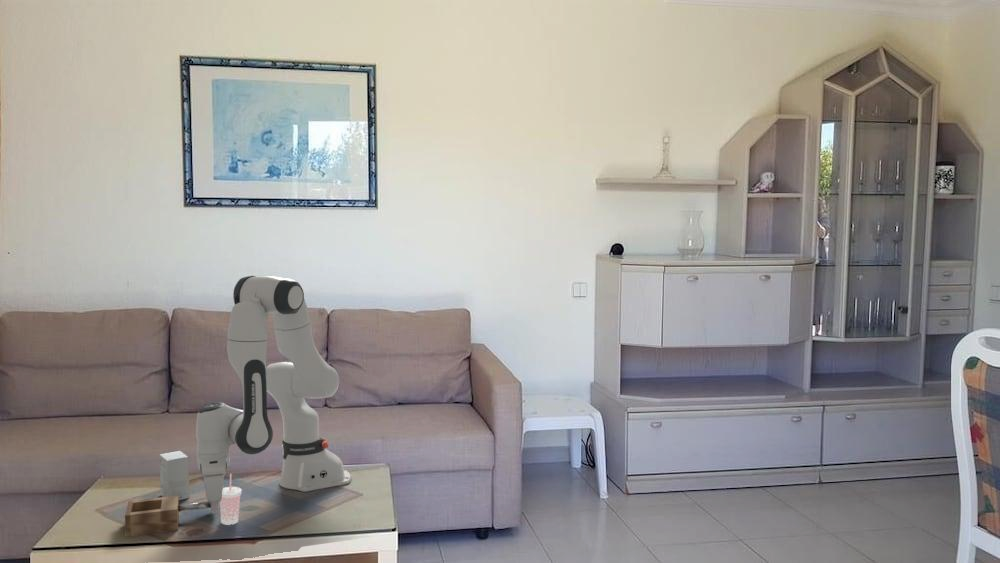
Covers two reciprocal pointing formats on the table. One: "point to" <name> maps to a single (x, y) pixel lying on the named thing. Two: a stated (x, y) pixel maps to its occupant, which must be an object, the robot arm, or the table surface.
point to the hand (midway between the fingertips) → (214, 506)
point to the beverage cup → (230, 504)
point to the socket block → (152, 516)
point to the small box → (174, 475)
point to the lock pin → (194, 506)
